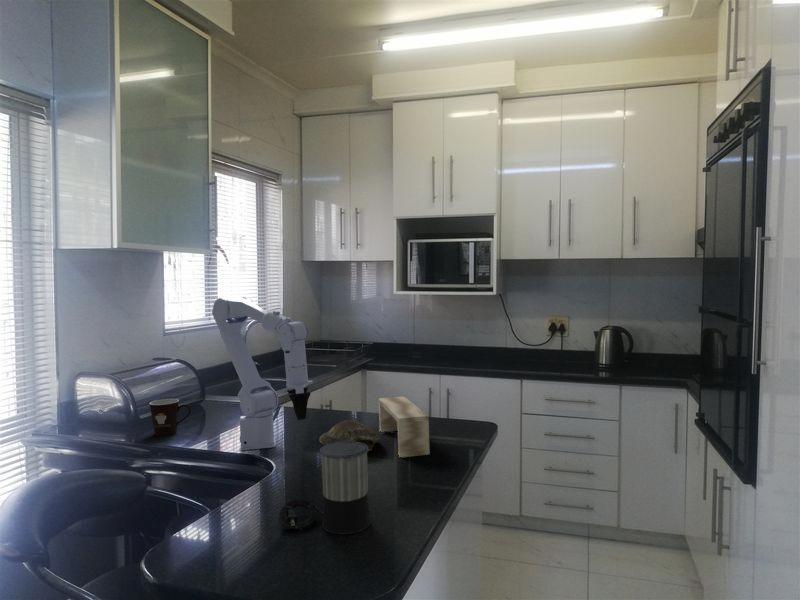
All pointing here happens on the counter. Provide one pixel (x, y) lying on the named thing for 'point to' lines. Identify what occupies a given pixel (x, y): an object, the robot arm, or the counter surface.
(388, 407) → the birch shelf
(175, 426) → the coffee mug
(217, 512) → the counter surface
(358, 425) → the turtle shell
